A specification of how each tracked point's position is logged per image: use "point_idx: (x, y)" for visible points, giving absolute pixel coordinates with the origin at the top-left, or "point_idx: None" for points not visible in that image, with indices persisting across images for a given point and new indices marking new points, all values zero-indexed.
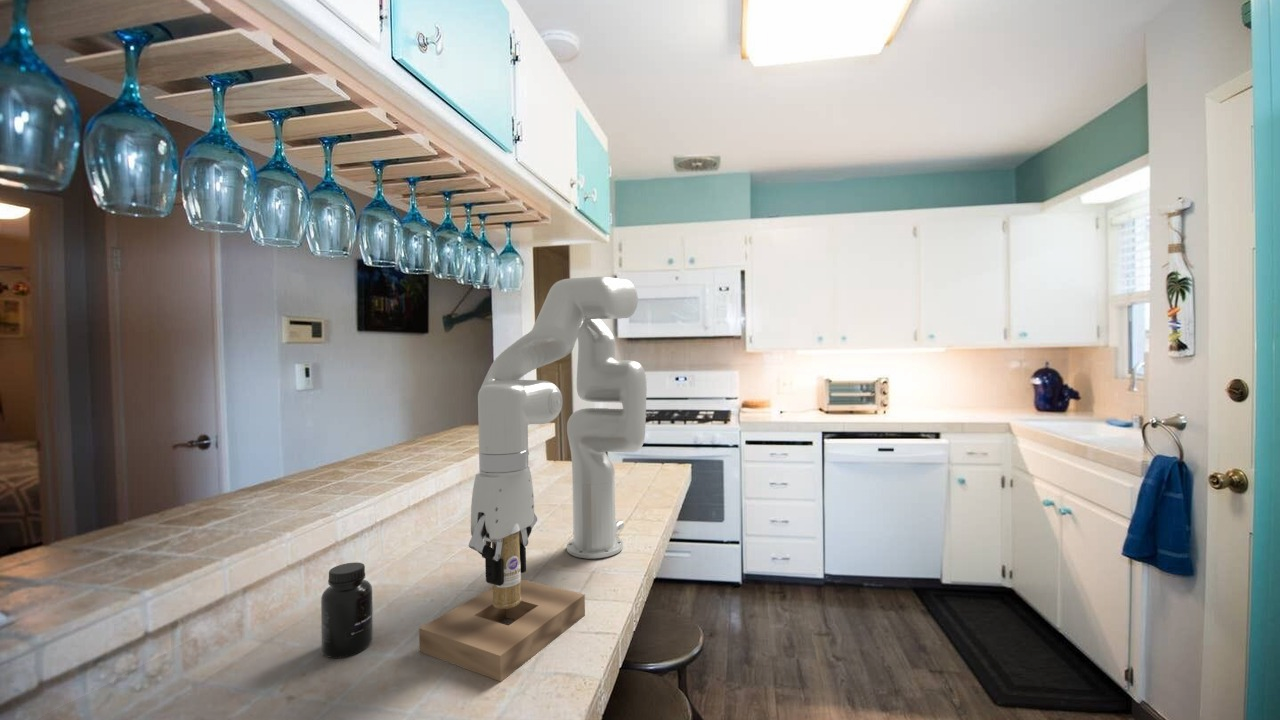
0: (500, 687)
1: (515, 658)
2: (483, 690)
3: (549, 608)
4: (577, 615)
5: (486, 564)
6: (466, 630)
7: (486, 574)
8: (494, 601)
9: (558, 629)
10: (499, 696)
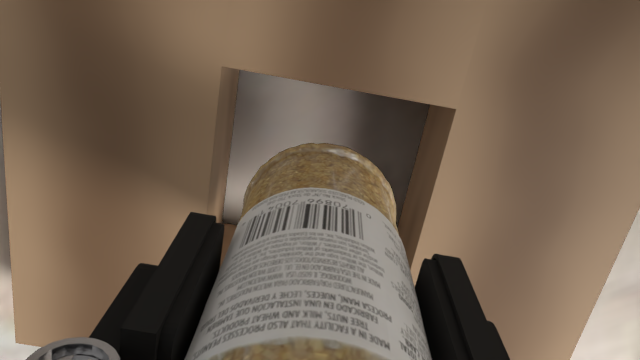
0: None
1: None
2: (7, 263)
3: None
4: None
5: (93, 335)
6: (87, 122)
7: (132, 276)
8: (252, 190)
9: None
10: (11, 315)
